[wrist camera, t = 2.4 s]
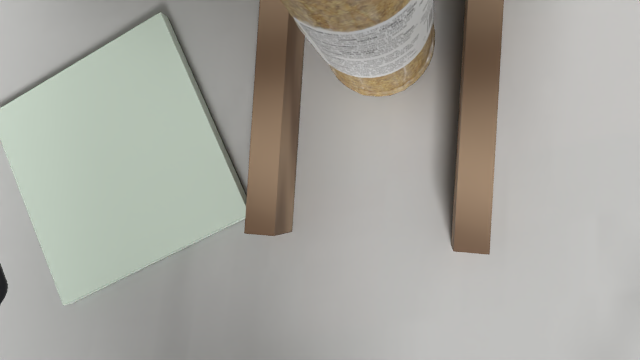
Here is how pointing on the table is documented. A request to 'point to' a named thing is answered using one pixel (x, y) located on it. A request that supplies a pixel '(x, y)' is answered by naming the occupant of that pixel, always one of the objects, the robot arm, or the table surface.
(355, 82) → the sprinkles bottle
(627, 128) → the table surface
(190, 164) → the pad
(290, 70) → the wooden holder
